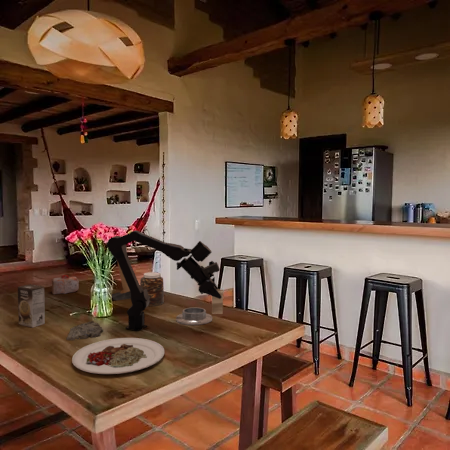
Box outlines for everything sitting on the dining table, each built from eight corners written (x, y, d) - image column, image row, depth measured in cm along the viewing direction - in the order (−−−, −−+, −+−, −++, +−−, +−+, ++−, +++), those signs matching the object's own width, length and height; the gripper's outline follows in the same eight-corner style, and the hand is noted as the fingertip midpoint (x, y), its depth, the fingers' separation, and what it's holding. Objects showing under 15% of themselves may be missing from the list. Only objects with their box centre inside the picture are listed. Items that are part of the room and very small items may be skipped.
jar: (166, 300, 211) (166, 272, 210) (160, 306, 200) (160, 276, 199) (144, 299, 212) (143, 271, 211) (137, 305, 201) (136, 275, 200)
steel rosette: (200, 327, 169) (200, 318, 168) (168, 321, 176) (168, 312, 176) (218, 317, 183) (218, 308, 183) (188, 312, 190) (188, 303, 190)
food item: (76, 289, 234) (76, 272, 233) (79, 292, 227) (79, 275, 226) (51, 292, 227) (50, 274, 226) (53, 295, 220) (52, 277, 219)
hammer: (111, 305, 209) (99, 250, 204) (108, 303, 214) (97, 248, 208) (147, 293, 219) (136, 240, 214) (143, 291, 223) (133, 239, 218)
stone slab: (105, 326, 172) (104, 319, 171) (99, 339, 155) (99, 332, 155) (73, 328, 169) (73, 320, 169) (64, 342, 152) (64, 334, 152)
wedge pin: (222, 313, 165) (222, 292, 164) (211, 313, 165) (212, 291, 164) (222, 310, 169) (222, 289, 169) (212, 310, 169) (212, 289, 169)
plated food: (182, 357, 138) (182, 348, 138) (104, 388, 116) (104, 377, 116) (130, 336, 158) (130, 328, 158) (55, 359, 136) (55, 349, 136)
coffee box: (17, 324, 171) (16, 286, 170) (31, 320, 177) (30, 283, 176) (32, 327, 167) (31, 289, 166) (45, 323, 172) (44, 286, 171)
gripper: (207, 259, 156) (235, 288, 157) (208, 252, 175) (234, 278, 176) (186, 279, 157) (215, 308, 158) (190, 270, 175) (215, 295, 176)
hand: (220, 296), depth 167 cm, fingers closed on wedge pin, 4 cm apart
